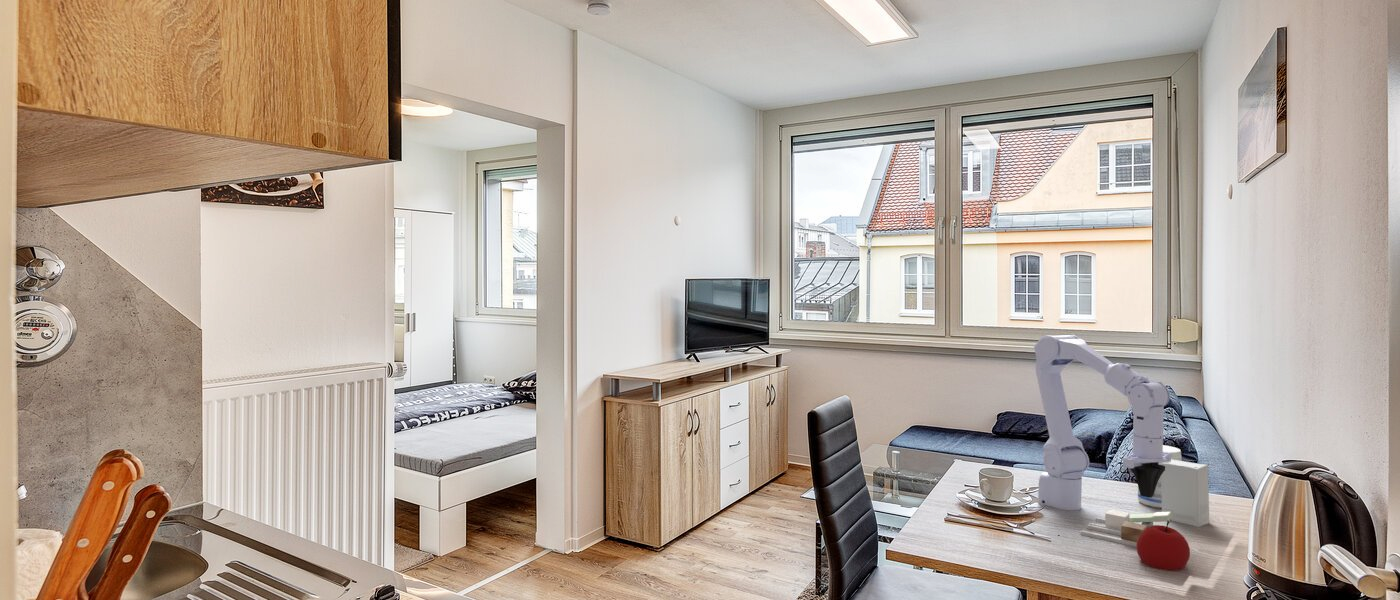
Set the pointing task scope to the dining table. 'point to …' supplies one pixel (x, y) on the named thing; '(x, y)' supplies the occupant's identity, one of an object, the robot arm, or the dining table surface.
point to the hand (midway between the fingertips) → (1146, 496)
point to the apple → (1163, 548)
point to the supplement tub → (1157, 497)
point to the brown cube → (1132, 531)
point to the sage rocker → (1151, 517)
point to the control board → (1109, 530)
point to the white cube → (1116, 518)
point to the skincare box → (1185, 492)
